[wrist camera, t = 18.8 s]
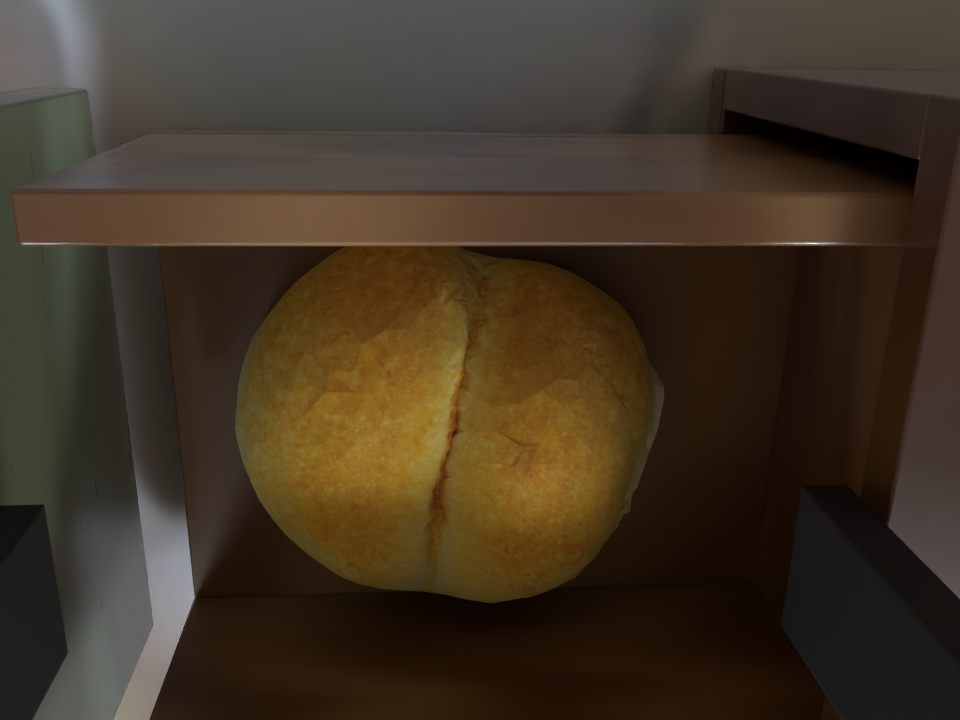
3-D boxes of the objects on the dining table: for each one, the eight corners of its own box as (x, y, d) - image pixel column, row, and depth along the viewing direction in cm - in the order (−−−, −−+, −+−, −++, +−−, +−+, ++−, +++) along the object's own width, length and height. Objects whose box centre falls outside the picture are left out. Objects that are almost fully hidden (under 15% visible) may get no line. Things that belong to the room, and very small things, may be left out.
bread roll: (280, 191, 20) (250, 229, 16) (673, 284, 21) (732, 339, 17) (218, 526, 22) (180, 628, 18) (572, 589, 23) (605, 696, 20)
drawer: (-146, 635, 24) (-423, 937, 16) (-287, 83, 19) (-775, 122, 11) (760, 606, 25) (919, 866, 18) (833, 97, 21) (1092, 139, 13)
